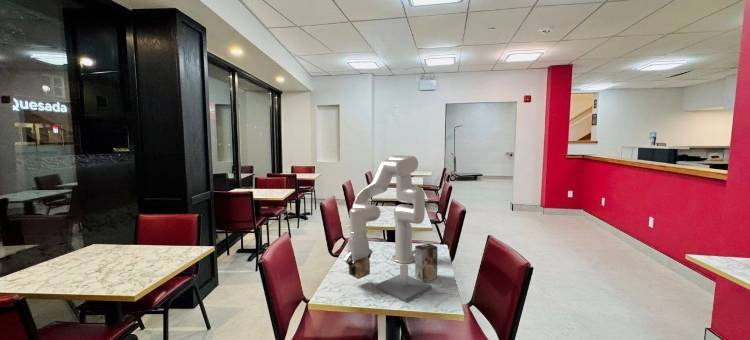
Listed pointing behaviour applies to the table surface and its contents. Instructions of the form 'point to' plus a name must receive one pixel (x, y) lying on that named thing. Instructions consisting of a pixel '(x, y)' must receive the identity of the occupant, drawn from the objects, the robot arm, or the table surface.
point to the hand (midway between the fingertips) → (359, 271)
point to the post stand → (404, 285)
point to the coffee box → (426, 262)
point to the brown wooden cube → (361, 268)
